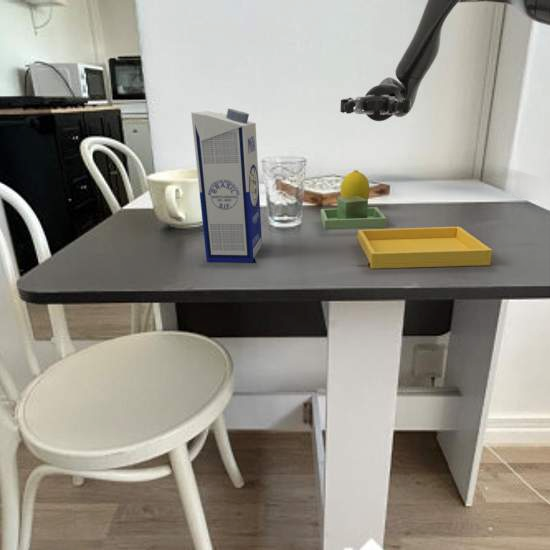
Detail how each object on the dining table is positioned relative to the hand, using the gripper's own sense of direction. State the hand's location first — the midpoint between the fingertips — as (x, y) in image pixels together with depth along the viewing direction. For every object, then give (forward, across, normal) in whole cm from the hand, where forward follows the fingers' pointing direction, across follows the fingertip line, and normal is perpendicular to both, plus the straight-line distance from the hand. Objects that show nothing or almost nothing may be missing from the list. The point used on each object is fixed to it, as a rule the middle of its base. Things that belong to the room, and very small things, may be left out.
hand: (369, 108), depth 87 cm
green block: (+21, +2, +17) cm, 27 cm away
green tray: (+21, +2, +18) cm, 27 cm away
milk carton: (+41, -10, +17) cm, 45 cm away
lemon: (+11, 0, +18) cm, 21 cm away
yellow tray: (+33, +15, +16) cm, 40 cm away
